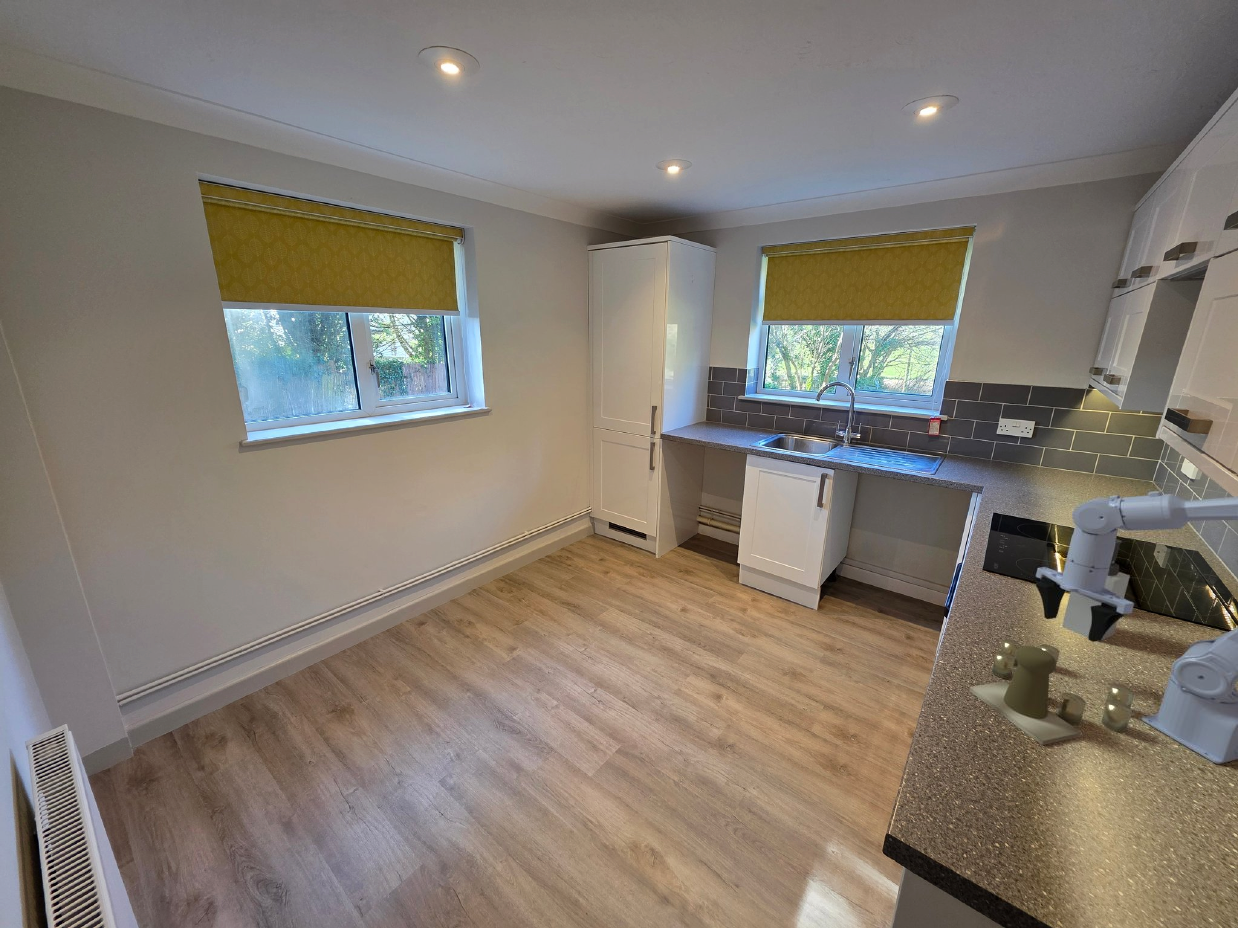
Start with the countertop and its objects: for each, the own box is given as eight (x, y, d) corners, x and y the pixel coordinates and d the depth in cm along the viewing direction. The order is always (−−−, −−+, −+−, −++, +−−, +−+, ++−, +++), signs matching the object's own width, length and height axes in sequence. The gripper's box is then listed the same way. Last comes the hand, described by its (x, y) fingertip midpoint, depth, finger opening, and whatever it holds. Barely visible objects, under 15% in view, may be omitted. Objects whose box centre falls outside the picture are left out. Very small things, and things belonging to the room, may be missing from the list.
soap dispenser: (1065, 615, 116) (1086, 528, 111) (1113, 635, 108) (1138, 542, 103) (1050, 621, 113) (1070, 533, 108) (1098, 641, 106) (1122, 547, 100)
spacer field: (1155, 725, 82) (1161, 705, 81) (1089, 740, 79) (1095, 719, 78) (1028, 651, 102) (1032, 634, 101) (972, 661, 99) (975, 643, 98)
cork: (1055, 721, 82) (1070, 664, 79) (1014, 715, 83) (1027, 659, 81) (1035, 697, 88) (1047, 643, 85) (996, 691, 89) (1008, 638, 86)
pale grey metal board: (1080, 736, 80) (1081, 732, 80) (1042, 744, 78) (1043, 740, 78) (1003, 684, 92) (1004, 680, 92) (969, 690, 90) (969, 686, 90)
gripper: (1029, 548, 95) (1016, 611, 98) (1118, 582, 81) (1099, 654, 84) (1058, 545, 96) (1043, 607, 100) (1150, 578, 83) (1130, 648, 86)
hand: (1071, 628), depth 92 cm, fingers open, 7 cm apart
